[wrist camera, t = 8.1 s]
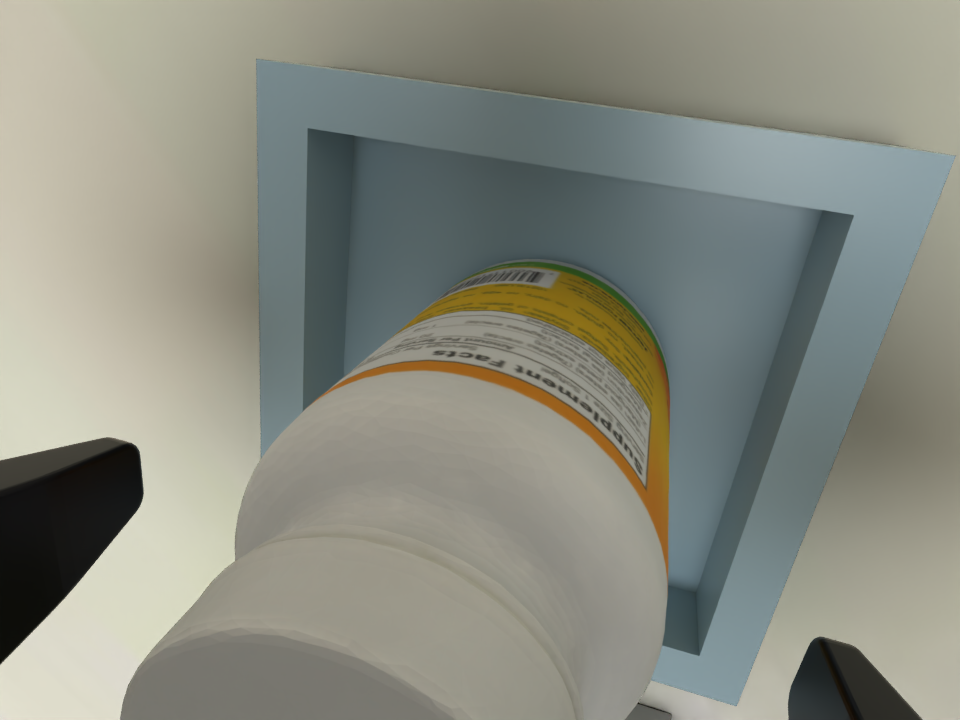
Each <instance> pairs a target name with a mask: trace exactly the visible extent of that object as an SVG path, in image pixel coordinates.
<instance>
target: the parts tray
mask: <svg viewBox="0 0 960 720" xmlns="http://www.w3.org/2000/svg"><path fill="white" fill-rule="evenodd" d="M256 70H257V156H258V243H259V330H260V416H261V458H262V457H263V455H264V454H265V452H266V451H267V450H268V448H269V447H270V446H271V444H272V443H273V442H274V441H275V440H276V439H277V437H278V436H279V435H280V434H281V433H282V432H283V431H284V430H285V429H286V428H287V427H288V426H289V425H290V424H291V423H292V422H293V421H294V420H295V419H296V418H297V417H298V416H299V415H300V414H301V413H302V412H303V411H304V410H305V409H306V408H307V407H308V406H309V405H311V404H312V403H313V402H314V401H315V400H316V399H318V398H319V397H320V396H321V395H323V394H324V393H325V392H326V391H328V390H329V389H330V388H331V387H333V386H334V385H335V384H336V383H337V382H339V381H340V380H341V379H342V378H344V377H345V376H346V375H347V374H348V373H350V372H351V371H352V370H353V369H354V368H356V367H357V366H358V365H359V364H360V363H361V362H363V361H364V360H365V359H366V358H367V357H368V356H370V355H371V354H372V353H373V352H375V351H376V350H377V349H378V348H380V347H381V346H382V345H383V344H384V343H385V342H387V341H388V340H389V339H390V338H391V337H393V336H394V335H395V334H396V333H397V332H398V331H400V330H401V329H402V328H403V327H404V326H406V325H407V324H408V323H409V322H410V321H412V320H413V319H414V318H415V317H416V316H417V315H418V314H420V313H421V312H422V311H423V310H424V309H426V308H427V307H428V306H429V305H431V304H432V303H433V302H434V301H435V300H437V299H438V298H439V297H440V296H441V295H443V294H444V293H445V292H446V291H448V290H449V289H450V288H451V287H453V286H454V285H456V284H457V283H459V282H460V281H462V280H464V279H465V278H467V277H468V276H470V275H472V274H474V273H476V272H478V271H480V270H482V269H484V268H487V267H489V266H492V265H495V264H498V263H502V262H506V261H512V260H521V259H545V260H553V261H559V262H564V263H568V264H572V265H575V266H578V267H581V268H584V269H587V270H589V271H591V272H593V273H595V274H597V275H599V276H601V277H603V278H604V279H606V280H608V281H609V282H610V283H612V284H613V285H615V286H616V287H617V288H619V289H620V290H621V291H622V292H623V293H625V294H626V295H627V296H628V297H629V298H630V299H631V300H632V301H633V302H634V303H635V304H636V306H637V307H638V308H639V309H640V310H641V312H642V313H643V314H644V315H645V317H646V318H647V320H648V321H649V322H650V324H651V326H652V328H653V329H654V331H655V333H656V335H657V337H658V339H659V341H660V344H661V346H662V349H663V352H664V356H665V359H666V364H667V369H668V374H669V388H670V444H669V526H668V597H667V607H666V619H665V632H664V637H663V642H662V648H661V652H660V655H659V658H658V661H657V664H656V667H655V670H654V672H653V675H652V678H651V680H652V681H656V682H659V683H662V684H665V685H669V686H672V687H675V688H678V689H682V690H685V691H688V692H691V693H695V694H698V695H701V696H704V697H708V698H711V699H714V700H717V701H721V702H724V703H727V704H730V705H734V706H737V704H738V701H739V699H740V696H741V694H742V691H743V689H744V686H745V684H746V681H747V679H748V676H749V674H750V671H751V669H752V666H753V664H754V661H755V659H756V656H757V654H758V651H759V649H760V646H761V644H762V641H763V639H764V636H765V634H766V631H767V629H768V626H769V623H770V621H771V618H772V616H773V613H774V611H775V608H776V606H777V603H778V601H779V598H780V596H781V593H782V591H783V588H784V586H785V583H786V581H787V578H788V576H789V573H790V571H791V568H792V566H793V563H794V561H795V558H796V556H797V553H798V551H799V548H800V546H801V543H802V541H803V538H804V536H805V533H806V531H807V528H808V526H809V523H810V521H811V518H812V516H813V513H814V511H815V508H816V505H817V503H818V500H819V498H820V495H821V493H822V490H823V488H824V485H825V483H826V480H827V478H828V475H829V473H830V470H831V468H832V465H833V463H834V460H835V458H836V455H837V453H838V450H839V448H840V445H841V443H842V440H843V438H844V435H845V433H846V430H847V428H848V425H849V423H850V420H851V418H852V415H853V413H854V410H855V408H856V405H857V403H858V400H859V398H860V395H861V393H862V390H863V387H864V385H865V382H866V380H867V377H868V375H869V372H870V370H871V367H872V365H873V362H874V360H875V357H876V355H877V352H878V350H879V347H880V345H881V342H882V340H883V337H884V335H885V332H886V330H887V327H888V325H889V322H890V320H891V317H892V315H893V312H894V310H895V307H896V305H897V302H898V300H899V297H900V295H901V292H902V290H903V287H904V285H905V282H906V280H907V277H908V275H909V272H910V269H911V267H912V264H913V262H914V259H915V257H916V254H917V252H918V249H919V247H920V244H921V242H922V239H923V237H924V234H925V232H926V229H927V227H928V224H929V222H930V219H931V217H932V214H933V212H934V209H935V207H936V204H937V202H938V199H939V197H940V194H941V192H942V189H943V187H944V184H945V182H946V179H947V177H948V174H949V172H950V169H951V167H952V164H953V162H954V159H955V156H953V155H948V154H942V153H937V152H931V151H925V150H920V149H914V148H909V147H903V146H897V145H890V144H883V143H875V142H868V141H861V140H854V139H846V138H839V137H832V136H825V135H817V134H810V133H803V132H796V131H788V130H781V129H774V128H767V127H759V126H752V125H745V124H738V123H731V122H723V121H716V120H709V119H702V118H694V117H687V116H680V115H673V114H665V113H658V112H651V111H644V110H636V109H629V108H622V107H615V106H607V105H600V104H593V103H586V102H578V101H571V100H564V99H557V98H549V97H542V96H535V95H528V94H520V93H513V92H506V91H499V90H492V89H484V88H477V87H470V86H463V85H455V84H448V83H441V82H434V81H426V80H419V79H412V78H405V77H397V76H390V75H383V74H376V73H368V72H361V71H354V70H347V69H339V68H332V67H325V66H316V65H307V64H298V63H289V62H280V61H271V60H262V59H256Z"/></svg>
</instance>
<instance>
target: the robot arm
mask: <svg viewBox="0 0 960 720" xmlns="http://www.w3.org/2000/svg"><path fill="white" fill-rule="evenodd" d="M143 494H144V490H143V479H142V469H141V459H140V452H139V450H138V448H137V447H136V446H135V445H134V444H132V443H129V442H126V441H122V440H119V439H115V438H108V437H106V438H101V439H96V440H92V441H87V442H82V443H78V444H73V445H69V446H64V447H60V448H55V449H51V450H46V451H42V452H37V453H32V454H28V455H23V456H19V457H14V458H10V459H5V460H1V461H0V664H1V663H2V662H3V661H4V660H5V659H6V658H7V657H8V656H9V655H10V654H11V653H12V652H13V651H14V650H15V649H16V648H17V647H18V646H19V645H20V644H21V643H22V642H23V641H24V640H25V639H26V638H27V637H28V636H29V635H30V634H31V633H32V632H33V631H34V630H35V629H36V628H37V627H38V626H39V625H40V624H41V623H42V622H43V621H44V620H45V619H46V617H47V616H48V615H49V614H50V613H51V612H52V611H53V610H54V609H55V608H56V607H57V606H58V605H59V604H60V603H61V602H62V601H63V600H64V598H65V597H66V596H67V595H68V594H69V593H70V591H71V590H72V589H73V588H74V587H75V586H76V584H77V583H78V582H79V581H80V580H81V578H82V577H83V576H84V575H85V574H86V572H87V571H88V570H89V569H90V567H91V566H92V565H93V564H94V563H95V561H96V560H97V559H98V558H99V557H100V555H101V554H102V553H103V552H104V550H105V549H106V548H107V547H108V546H109V544H110V543H111V542H112V541H113V539H114V538H115V537H116V536H117V535H118V533H119V532H120V531H121V530H122V528H123V527H124V526H125V525H126V524H127V522H128V521H129V520H130V519H131V518H132V516H133V515H134V514H135V513H136V511H137V510H138V508H139V507H140V505H141V502H142V499H143ZM788 715H789V720H922V718H921V717H920V716H919V715H918V714H917V713H916V712H915V711H914V710H913V709H912V707H911V706H910V705H909V704H908V703H907V702H906V701H905V700H904V699H903V698H902V697H901V695H900V694H899V693H898V692H897V691H896V690H895V689H894V688H893V687H892V686H891V684H890V683H889V682H888V681H887V680H886V679H885V678H884V677H883V676H882V675H881V673H880V672H879V671H878V670H877V669H876V668H875V667H874V666H873V665H872V664H871V663H870V661H869V660H868V659H867V658H866V657H865V656H864V655H863V654H862V653H861V652H860V651H859V650H858V649H857V648H856V647H854V646H852V645H850V644H846V643H843V642H839V641H836V640H832V639H828V638H825V637H817V638H815V639H814V640H813V641H812V642H811V643H810V645H809V647H808V649H807V651H806V654H805V656H804V658H803V661H802V663H801V665H800V667H799V670H798V672H797V674H796V676H795V679H794V681H793V683H792V686H791V689H790V693H789V701H788Z"/></svg>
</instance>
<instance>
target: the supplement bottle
mask: <svg viewBox="0 0 960 720" xmlns="http://www.w3.org/2000/svg"><path fill="white" fill-rule="evenodd" d="M669 444H670V388H669V374H668V369H667V364H666V359H665V356H664V352H663V349H662V346H661V344H660V341H659V339H658V337H657V335H656V333H655V331H654V329H653V328H652V326H651V324H650V322H649V321H648V320H647V318H646V317H645V315H644V314H643V313H642V312H641V310H640V309H639V308H638V307H637V306H636V304H635V303H634V302H633V301H632V300H631V299H630V298H629V297H628V296H627V295H626V294H625V293H623V292H622V291H621V290H620V289H619V288H617V287H616V286H615V285H613V284H612V283H610V282H609V281H608V280H606V279H604V278H603V277H601V276H599V275H597V274H595V273H593V272H591V271H589V270H587V269H584V268H581V267H578V266H575V265H572V264H568V263H564V262H559V261H553V260H545V259H521V260H512V261H506V262H502V263H498V264H495V265H492V266H489V267H487V268H484V269H482V270H480V271H478V272H476V273H474V274H472V275H470V276H468V277H467V278H465V279H464V280H462V281H460V282H459V283H457V284H456V285H454V286H453V287H451V288H450V289H449V290H448V291H446V292H445V293H444V294H443V295H441V296H440V297H439V298H438V299H437V300H435V301H434V302H433V303H432V304H431V305H429V306H428V307H427V308H426V309H424V310H423V311H422V312H421V313H420V314H418V315H417V316H416V317H415V318H414V319H413V320H412V321H410V322H409V323H408V324H407V325H406V326H404V327H403V328H402V329H401V330H400V331H398V332H397V333H396V334H395V335H394V336H393V337H391V338H390V339H389V340H388V341H387V342H385V343H384V344H383V345H382V346H381V347H380V348H378V349H377V350H376V351H375V352H373V353H372V354H371V355H370V356H368V357H367V358H366V359H365V360H364V361H363V362H361V363H360V364H359V365H358V366H357V367H356V368H354V369H353V370H352V371H351V372H350V373H348V374H347V375H346V376H345V377H344V378H342V379H341V380H340V381H339V382H337V383H336V384H335V385H334V386H333V387H331V388H330V389H329V390H328V391H326V392H325V393H324V394H323V395H321V396H320V397H319V398H318V399H316V400H315V401H314V402H313V403H312V404H311V405H309V406H308V407H307V408H306V409H305V410H304V411H303V412H302V413H301V414H300V415H299V416H298V417H297V418H296V419H295V420H294V421H293V422H292V423H291V424H290V425H289V426H288V427H287V428H286V429H285V430H284V431H283V432H282V433H281V434H280V435H279V436H278V437H277V439H276V440H275V441H274V442H273V443H272V444H271V446H270V447H269V448H268V450H267V451H266V452H265V454H264V455H263V457H262V458H261V460H260V461H259V463H258V465H257V466H256V468H255V470H254V472H253V474H252V476H251V478H250V481H249V483H248V485H247V487H246V490H245V493H244V496H243V499H242V503H241V506H240V510H239V514H238V520H237V526H236V533H235V562H233V563H232V564H231V565H229V566H228V567H227V568H225V569H224V570H223V571H222V572H221V573H220V574H219V575H218V576H217V577H216V578H215V579H214V580H213V581H212V582H211V583H210V585H209V586H208V587H207V589H206V590H205V591H204V592H203V594H202V595H201V596H200V598H199V599H198V600H197V601H196V602H195V603H194V605H193V606H192V607H191V608H190V609H189V610H188V611H187V612H186V613H185V614H184V616H183V617H182V618H181V619H180V620H179V621H178V622H177V623H176V624H175V625H174V626H173V627H172V628H171V630H170V631H169V632H168V633H167V634H166V635H165V636H164V637H163V638H162V639H161V640H160V641H159V642H158V644H157V645H156V646H155V647H154V648H153V649H152V650H151V652H150V653H149V654H148V655H147V657H146V658H145V659H144V661H143V662H142V663H141V664H140V666H139V667H138V669H137V670H136V672H135V674H134V676H133V678H132V679H131V681H130V683H129V685H128V688H127V691H126V694H125V697H124V701H123V705H122V711H121V717H120V720H625V719H626V718H627V716H628V715H629V714H630V712H631V711H632V710H633V709H634V707H635V706H636V705H637V703H638V701H639V700H640V698H641V696H642V695H643V693H644V692H645V690H646V688H647V686H648V684H649V682H650V680H651V678H652V675H653V672H654V670H655V667H656V664H657V661H658V658H659V655H660V652H661V648H662V642H663V637H664V632H665V619H666V607H667V597H668V526H669Z"/></svg>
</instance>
